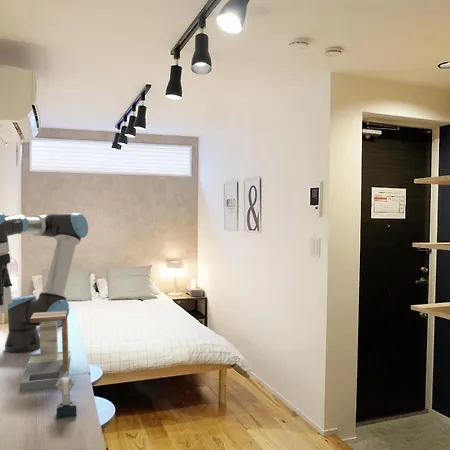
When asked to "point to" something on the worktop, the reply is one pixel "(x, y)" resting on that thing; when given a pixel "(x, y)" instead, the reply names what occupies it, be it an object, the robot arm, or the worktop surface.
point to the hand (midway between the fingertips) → (5, 308)
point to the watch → (66, 398)
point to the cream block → (48, 340)
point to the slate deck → (43, 373)
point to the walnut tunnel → (58, 317)
